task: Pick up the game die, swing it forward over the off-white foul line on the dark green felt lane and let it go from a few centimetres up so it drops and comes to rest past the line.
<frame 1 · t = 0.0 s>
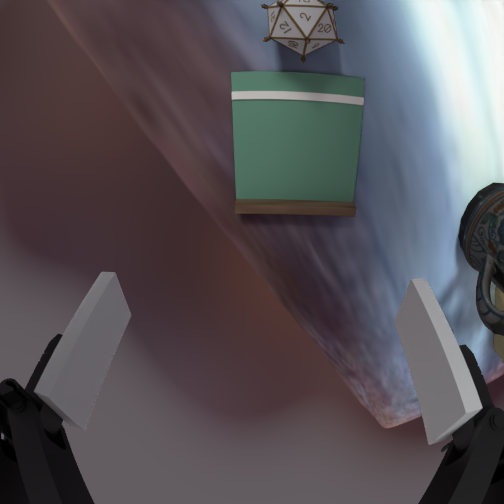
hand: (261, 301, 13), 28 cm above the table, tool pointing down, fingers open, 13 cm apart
beer stein: (485, 227, 40), on the table
walnut backstop rail: (295, 202, 40), on the table
felt lane: (297, 137, 35), on the table
game die: (298, 27, 27), on the table
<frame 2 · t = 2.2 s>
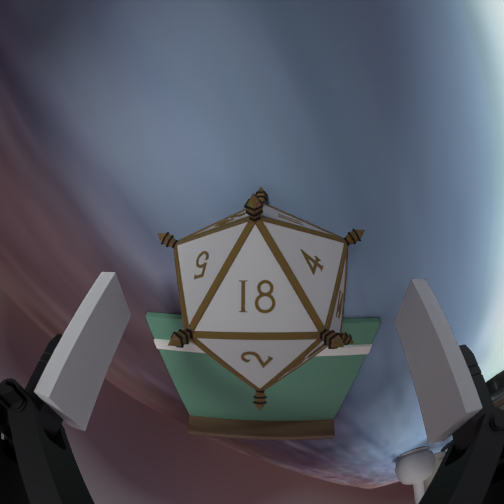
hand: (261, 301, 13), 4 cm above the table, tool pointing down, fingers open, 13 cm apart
beer stein: (492, 392, 29), on the table
potion bottle: (413, 451, 44), on the table
walnut backstop rail: (261, 419, 29), on the table
felt lane: (262, 381, 24), on the table
thermos bottle: (431, 456, 50), on the table
game die: (263, 238, 16), on the table
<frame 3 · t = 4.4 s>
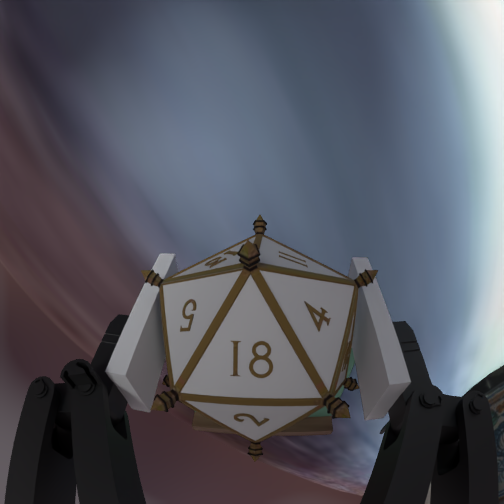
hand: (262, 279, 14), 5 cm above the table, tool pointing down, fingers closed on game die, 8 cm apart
beer stein: (487, 393, 30), on the table
walnut backstop rail: (263, 416, 31), on the table
game die: (262, 269, 14), point 4 cm above the table, touching gripper
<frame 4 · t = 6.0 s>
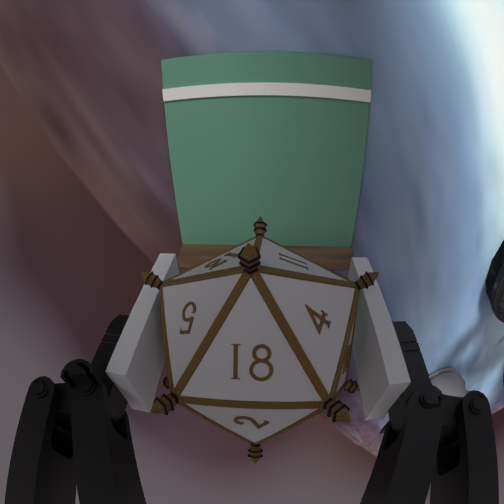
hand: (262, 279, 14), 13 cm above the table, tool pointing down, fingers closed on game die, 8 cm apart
potion bottle: (438, 376, 42), on the table
walnut backstop rail: (266, 248, 28), on the table
felt lane: (267, 154, 23), on the table
game die: (262, 270, 14), point 12 cm above the table, touching gripper
when the fingers open (3 cm above the table, at t = 7.8 s): game die drops 2 cm, resting on felt lane.
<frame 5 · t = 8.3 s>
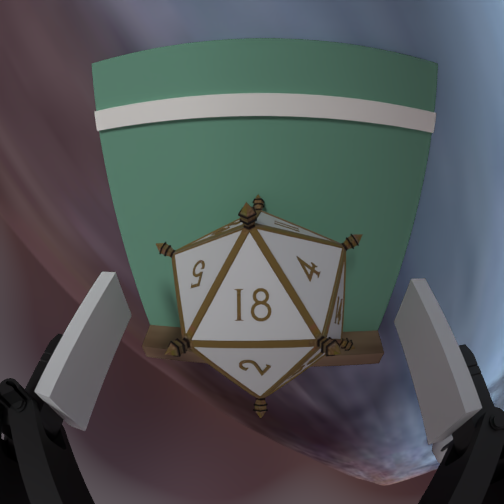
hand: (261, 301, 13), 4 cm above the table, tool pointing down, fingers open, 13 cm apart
potion bottle: (452, 424, 34), on the table
walnut backstop rail: (263, 333, 20), on the table
felt lane: (264, 213, 15), on the table
game die: (262, 245, 16), resting on felt lane
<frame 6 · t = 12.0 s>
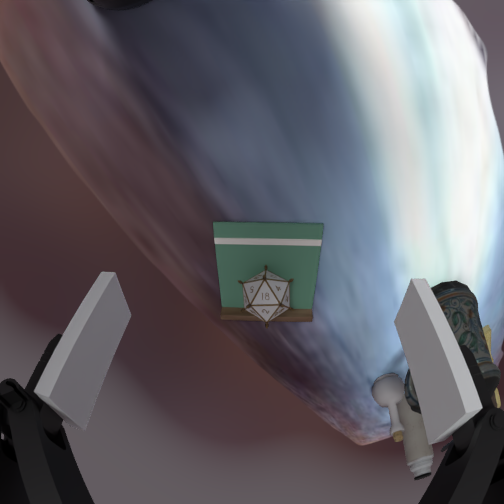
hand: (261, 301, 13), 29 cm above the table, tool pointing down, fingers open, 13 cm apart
beer stein: (433, 313, 52), on the table
potion bottle: (386, 379, 67), on the table
walnut backstop rail: (266, 309, 53), on the table
felt lane: (267, 269, 48), on the table
thermos bottle: (407, 396, 73), on the table
game die: (267, 278, 49), resting on felt lane
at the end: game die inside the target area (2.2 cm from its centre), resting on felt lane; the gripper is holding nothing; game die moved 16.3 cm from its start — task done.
